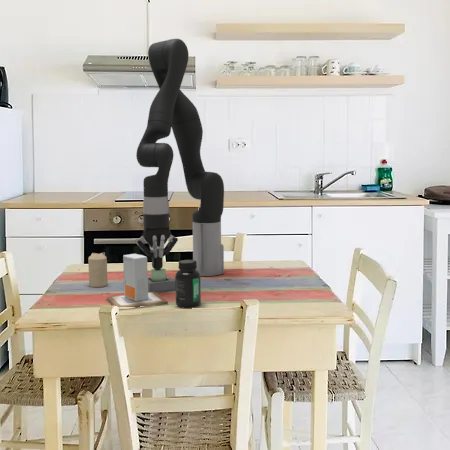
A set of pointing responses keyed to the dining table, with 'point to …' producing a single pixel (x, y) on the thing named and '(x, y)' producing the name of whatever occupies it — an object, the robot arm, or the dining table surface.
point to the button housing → (161, 285)
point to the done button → (158, 275)
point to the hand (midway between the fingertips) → (157, 269)
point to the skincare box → (135, 277)
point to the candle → (97, 270)
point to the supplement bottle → (188, 284)
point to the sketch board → (126, 302)
